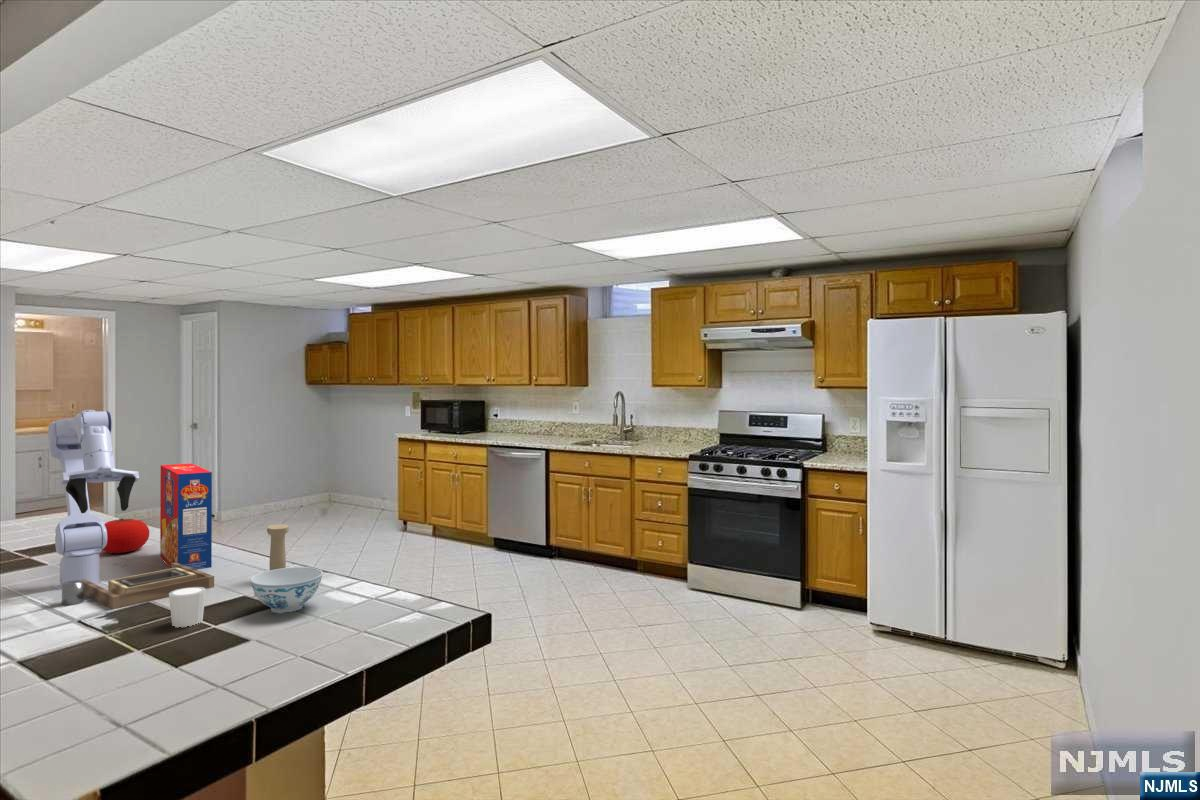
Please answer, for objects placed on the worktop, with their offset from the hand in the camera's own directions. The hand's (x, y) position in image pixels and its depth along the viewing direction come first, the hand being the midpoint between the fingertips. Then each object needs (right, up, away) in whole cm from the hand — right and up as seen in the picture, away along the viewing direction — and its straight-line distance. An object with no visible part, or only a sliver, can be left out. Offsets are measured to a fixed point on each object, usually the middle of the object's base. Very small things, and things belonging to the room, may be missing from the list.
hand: (105, 510), depth 149 cm
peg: (-10, -23, +3) cm, 25 cm away
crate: (+3, -22, +12) cm, 25 cm away
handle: (+27, -24, +24) cm, 43 cm away
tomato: (-37, -23, +56) cm, 71 cm away
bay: (0, -23, +14) cm, 27 cm away
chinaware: (+39, -24, +4) cm, 46 cm away
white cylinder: (+22, -24, -6) cm, 33 cm away
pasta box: (-9, -23, +42) cm, 49 cm away
